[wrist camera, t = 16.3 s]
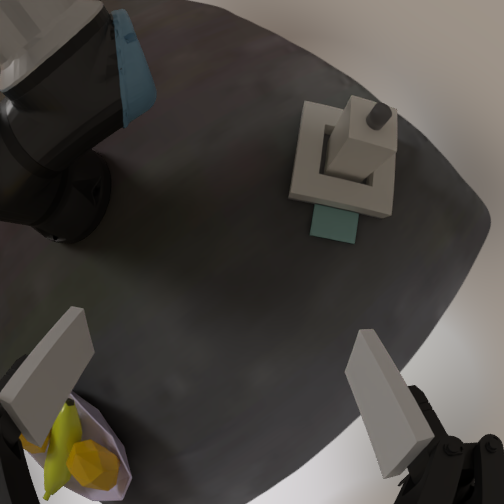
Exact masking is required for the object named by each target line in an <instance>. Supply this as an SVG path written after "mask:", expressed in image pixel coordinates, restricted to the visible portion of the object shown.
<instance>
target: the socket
mask: <svg viewBox="0 0 504 504" xmlns="http://www.w3.org/2000/svg"><path fill="white" fill-rule="evenodd" d="M343 111H344V110H343V109H339V108H335V107H331V106H327V105H322V104H318V103H313V102H308V101H305V102H304V106H303V110H302V114H301V121H300V127H299V134H298V140H297V147H296V153H295V159H294V165H293V171H292V177H291V183H290V189H289V195H288V199H291V200H296V201H301V202H306V203H311V204H315V205H314V209H313V216H312V222H311V228H310V234H309V235H311V236H316V237H321V238H326V239H331V240H336V241H341V242H346V243H351V244H355V238H356V231H357V224H358V217H359V214H361V215H366V216H370V217H374V218H378V219H383V218H385V217H388V216H391V215H392V205H393V193H394V178H395V157H396V153H395V154H393V155H392V156H391V157H390V158H389V159H387V160H386V161H385V162H384V163H383V164H382V165H380V166H379V167H378V168H377V169H376V170H374V171H373V172H372V173H371V174H370V175H369V176H367V177H366V178H365V179H364V180H363V181H361V182H360V183H357V182H353V181H348V180H344V179H340V178H336V177H331V176H327V175H323V174H324V167H325V159H326V151H327V143H328V139H329V138H330V136H331V134H332V132H333V130H334V128H335V126H336V124H337V122H338V120H339V118H340V116H341V114H342V113H343Z"/></svg>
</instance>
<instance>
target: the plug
mask: <svg viewBox="0 0 504 504" xmlns="http://www.w3.org/2000/svg"><path fill="white" fill-rule="evenodd" d="M396 152H397V109H395V108H392V107H389V106H387V105H386V104H384V103H377V102H373V101H370V100H367V99H363V98H360V97H356V96H353V95H351V97H350V99H349V101H348V103H347V105H346V107H345V109H344V111H343V113H342V114H341V116H340V118H339V120H338V122H337V124H336V126H335V128H334V130H333V132H332V134H331V136H330V138H329V139H328V143H327V151H326V159H325V167H324V174H323V175H327V176H331V177H336V178H340V179H344V180H348V181H353V182H357V183H360V182H361V181H363V180H364V179H365V178H366V177H367V176H369V175H370V174H371V173H372V172H373V171H374V170H376V169H377V168H378V167H379V166H380V165H382V164H383V163H384V162H385V161H386V160H387V159H389V158H390V157H391V156H392V155H393V154H395V153H396Z"/></svg>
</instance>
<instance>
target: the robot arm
mask: <svg viewBox="0 0 504 504" xmlns="http://www.w3.org/2000/svg"><path fill="white" fill-rule="evenodd" d="M0 67H1V75H0V91H1V92H2V93H3V94H4V95H5V96H6V97H5V98H4V99H3V100H2V101H1V102H0V221H4V222H10V223H16V224H22V225H28V226H31V227H32V228H34V229H35V230H36V231H38V232H39V233H40V234H42V235H43V236H44V237H46V238H47V239H49V240H51V241H54V242H59V243H75V242H78V241H80V240H82V239H84V238H85V237H87V236H88V235H89V234H90V233H91V232H92V231H93V230H94V229H95V228H96V227H97V225H98V224H99V222H100V221H101V219H102V217H103V215H104V213H105V211H106V208H107V205H108V202H109V198H110V191H111V178H110V173H109V169H108V166H107V164H106V162H105V161H104V159H103V158H102V157H101V156H100V155H99V154H98V153H96V152H95V151H93V150H92V148H93V147H94V146H96V145H97V144H98V143H100V142H101V141H103V140H104V139H105V138H107V137H108V136H110V135H111V134H113V133H114V132H116V131H117V130H119V129H120V128H122V127H123V128H126V127H127V126H128V124H129V123H130V122H131V121H133V120H134V119H136V118H137V117H139V116H140V115H142V114H143V113H145V112H146V111H148V110H149V109H150V108H151V107H152V106H153V104H154V102H155V100H156V88H155V85H154V81H153V78H152V76H151V73H150V70H149V67H148V64H147V62H146V59H145V56H144V54H143V51H142V49H141V46H140V43H139V41H138V40H137V36H136V34H135V31H134V28H133V25H132V23H131V20H130V18H129V16H128V13H127V12H126V10H124V9H120V10H114V11H112V12H111V14H109V13H108V11H107V10H106V8H105V6H104V5H103V3H102V2H101V1H97V0H0ZM94 353H95V352H94V348H93V345H92V341H91V337H90V333H89V329H88V325H87V321H86V317H85V312H84V309H83V308H78V307H72V306H71V307H70V308H69V310H68V311H67V312H66V313H65V314H64V315H63V316H62V317H61V318H60V319H59V321H58V322H57V323H56V324H55V325H54V326H53V327H52V328H51V330H50V331H49V332H48V333H47V334H46V335H45V337H44V338H43V339H42V340H41V341H40V342H39V344H38V345H37V346H36V347H35V348H34V350H33V351H32V352H31V353H30V354H29V355H26V354H25V355H24V356H22V357H20V358H19V359H17V360H16V362H15V363H14V364H13V365H12V366H11V369H9V370H8V371H7V373H6V375H4V377H3V378H2V379H1V380H0V504H40V502H39V500H38V497H37V494H36V491H35V489H34V486H33V482H32V479H31V476H30V473H29V469H28V466H27V462H26V458H25V455H24V450H23V446H22V442H21V440H20V438H19V437H20V435H21V433H22V435H23V436H24V437H25V438H26V440H27V441H28V442H30V443H32V444H34V445H36V446H38V447H40V448H41V447H42V445H43V443H44V441H45V439H46V437H47V435H48V433H49V431H50V429H51V428H52V426H53V424H54V422H55V420H56V418H57V416H58V414H59V413H60V411H61V409H62V407H63V405H64V403H65V402H66V400H67V398H68V396H69V395H70V393H71V391H72V389H73V388H74V386H75V384H76V382H77V381H78V379H79V377H80V376H81V374H82V372H83V371H84V369H85V367H86V366H87V364H88V362H89V361H90V359H91V358H92V356H93V354H94ZM345 374H346V376H347V379H348V382H349V384H350V387H351V389H352V392H353V395H354V397H355V400H356V403H357V405H358V408H359V411H360V413H361V416H362V419H363V421H364V424H365V427H366V429H367V432H368V435H369V438H370V441H371V443H372V446H373V449H374V452H375V455H376V458H377V461H378V464H379V467H380V470H381V473H382V476H383V479H385V478H389V477H393V476H397V475H400V474H401V473H402V472H403V471H404V470H405V469H406V468H408V471H409V474H408V475H407V476H406V477H405V478H404V479H403V480H402V481H401V482H400V483H399V485H398V486H401V485H402V484H403V486H402V488H401V490H400V492H399V494H398V496H397V499H396V501H395V503H394V504H504V449H503V444H502V442H501V440H500V439H499V438H498V437H497V436H495V435H492V434H487V435H485V436H483V437H482V438H481V439H480V441H479V442H478V443H463V442H462V441H461V440H460V439H459V438H457V437H454V436H448V434H447V433H446V431H445V429H444V428H443V426H442V424H441V422H440V420H439V419H438V417H437V415H436V413H435V412H434V410H432V407H431V405H430V403H428V400H427V398H426V396H425V394H424V393H423V392H422V391H421V390H420V389H419V388H418V387H416V386H415V385H413V386H407V384H406V383H405V381H404V379H403V378H402V376H401V374H400V372H399V371H398V369H397V367H396V366H395V364H394V362H393V360H392V359H391V357H390V355H389V354H388V352H387V350H386V349H385V347H384V346H383V344H382V342H381V341H380V339H379V337H378V336H377V334H376V333H375V331H374V329H359V332H358V335H357V338H356V341H355V344H354V347H353V350H352V353H351V356H350V359H349V362H348V365H347V367H346V370H345Z"/></svg>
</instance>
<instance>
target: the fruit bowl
mask: <svg viewBox="0 0 504 504" xmlns="http://www.w3.org/2000/svg"><path fill="white" fill-rule="evenodd" d="M19 438H20V440H21V442H22V446H23V449H25V450H27V451H28V453H29V454H30V455H31V456H32V457H33V458H34V459H35V460H36V461H37V462H38V464H39V465H40V466H41V467H42V468H43V469H44V486H45V491H46V493H45V495H44V497H43V498H44V499H45V500H47V501H48V499H49V497H50V495H53V494H54V493H56V492H57V491H58V490H59V489H60V488H61V487H62V486H64V487H66V488H68V489H70V490H72V491H74V492H76V493H78V494H80V495H82V496H84V497H86V498H88V499H90V500H92V501H117V500H123V498H124V496H125V493H126V491H127V489H128V486H129V484H130V482H131V480H132V475H131V471H130V468H129V464H128V460H127V456H126V452H125V448H124V445H123V444H122V443H121V441H120V440H119V438H118V437H117V436H116V434H115V433H114V432H113V430H112V429H111V427H110V426H109V424H108V423H107V422H106V420H105V419H104V417H103V416H102V414H101V413H100V411H99V410H98V409H97V408H95V407H94V406H93V405H91V404H90V403H88V402H87V401H85V400H84V399H83V398H81V397H80V396H78V395H77V394H76V393H74V392H73V391H71V393H70V395H69V396H68V398H67V400H66V402H65V403H64V405H63V407H62V409H61V411H60V413H59V414H58V416H57V418H56V420H55V422H54V424H53V426H52V428H51V429H50V431H49V433H48V435H47V437H46V439H45V441H44V443H43V445H42V447H41V448H40V447H38V446H36V445H34V444H32V443H30V442H28V441H27V440H26V438H25V437H24V436H23V435H22V433H21V435H20V437H19Z"/></svg>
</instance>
